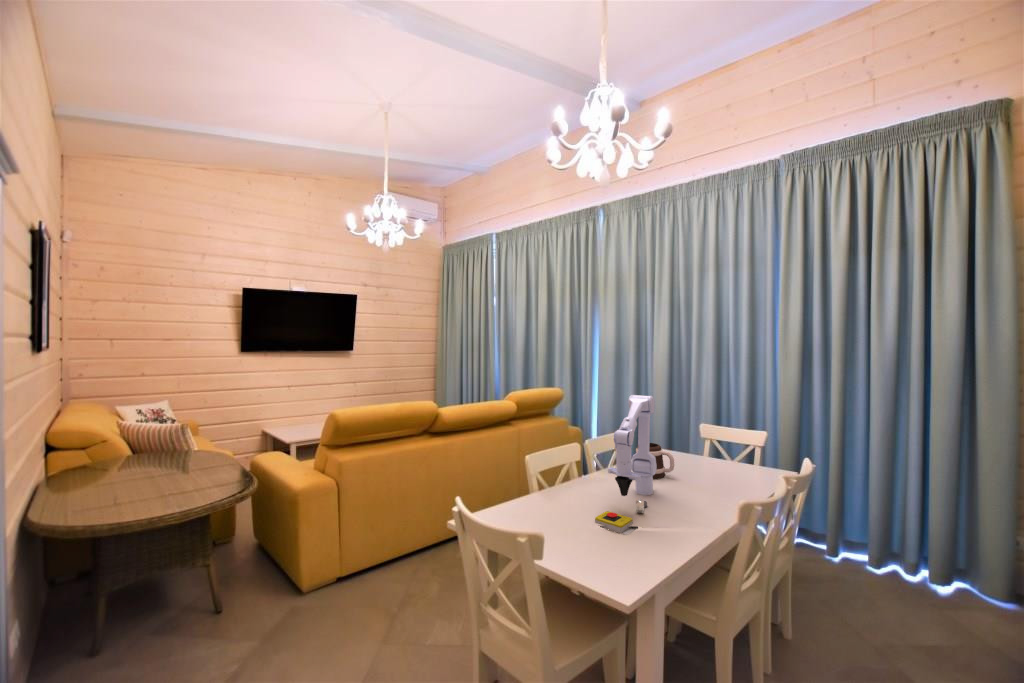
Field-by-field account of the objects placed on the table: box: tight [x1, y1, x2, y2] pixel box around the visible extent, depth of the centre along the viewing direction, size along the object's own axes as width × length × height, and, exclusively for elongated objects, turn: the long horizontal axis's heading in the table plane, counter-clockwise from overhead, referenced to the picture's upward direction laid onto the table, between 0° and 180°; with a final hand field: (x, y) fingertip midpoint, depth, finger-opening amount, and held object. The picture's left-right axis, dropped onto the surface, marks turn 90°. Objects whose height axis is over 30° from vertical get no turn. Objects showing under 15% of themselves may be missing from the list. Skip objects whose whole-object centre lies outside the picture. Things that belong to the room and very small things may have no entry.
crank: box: [635, 499, 648, 514], centre depth 182 cm, size 12×4×5 cm, turn 159°
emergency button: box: [594, 510, 639, 536], centre depth 170 cm, size 9×4×15 cm
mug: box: [635, 442, 675, 480], centre depth 229 cm, size 20×15×15 cm
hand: (624, 495), depth 181 cm, fingers closed
